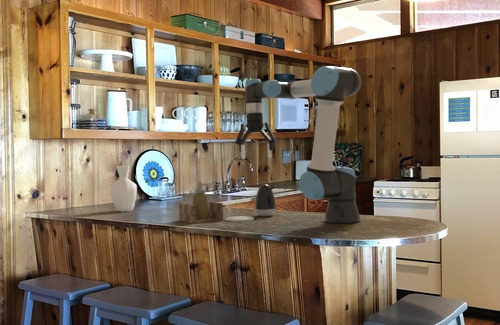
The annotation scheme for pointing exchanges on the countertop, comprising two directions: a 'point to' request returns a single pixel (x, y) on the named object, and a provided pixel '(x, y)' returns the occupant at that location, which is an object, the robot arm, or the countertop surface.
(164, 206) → the countertop surface
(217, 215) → the holder
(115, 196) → the vase
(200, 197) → the squeeze bottle
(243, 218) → the plate
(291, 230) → the countertop surface
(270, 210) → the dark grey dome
